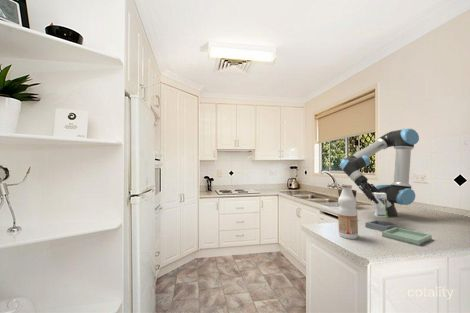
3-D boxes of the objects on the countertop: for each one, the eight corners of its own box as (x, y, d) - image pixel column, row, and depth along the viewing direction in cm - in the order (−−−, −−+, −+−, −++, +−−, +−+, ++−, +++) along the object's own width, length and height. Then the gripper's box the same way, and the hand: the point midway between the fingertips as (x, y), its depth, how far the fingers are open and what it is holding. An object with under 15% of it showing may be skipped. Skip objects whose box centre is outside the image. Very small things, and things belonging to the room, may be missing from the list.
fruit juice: (337, 237, 117) (336, 185, 118) (339, 232, 125) (338, 184, 126) (357, 240, 112) (355, 186, 113) (358, 235, 120) (357, 184, 121)
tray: (396, 231, 125) (395, 227, 125) (431, 239, 112) (431, 234, 112) (382, 236, 117) (382, 231, 117) (418, 245, 103) (418, 240, 104)
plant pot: (355, 207, 196) (355, 189, 197) (358, 210, 183) (358, 191, 183) (337, 206, 202) (337, 189, 202) (339, 209, 188) (338, 190, 189)
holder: (375, 224, 140) (375, 219, 141) (397, 229, 130) (396, 224, 130) (365, 227, 134) (365, 222, 134) (387, 232, 124) (386, 227, 124)
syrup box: (376, 217, 131) (375, 193, 131) (374, 214, 136) (373, 191, 137) (387, 217, 129) (386, 193, 129) (384, 215, 134) (383, 192, 135)
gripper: (363, 181, 152) (390, 208, 137) (346, 183, 141) (373, 212, 127) (370, 174, 147) (399, 201, 133) (353, 175, 137) (382, 204, 122)
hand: (386, 206), depth 130 cm, fingers closed on syrup box, 8 cm apart
